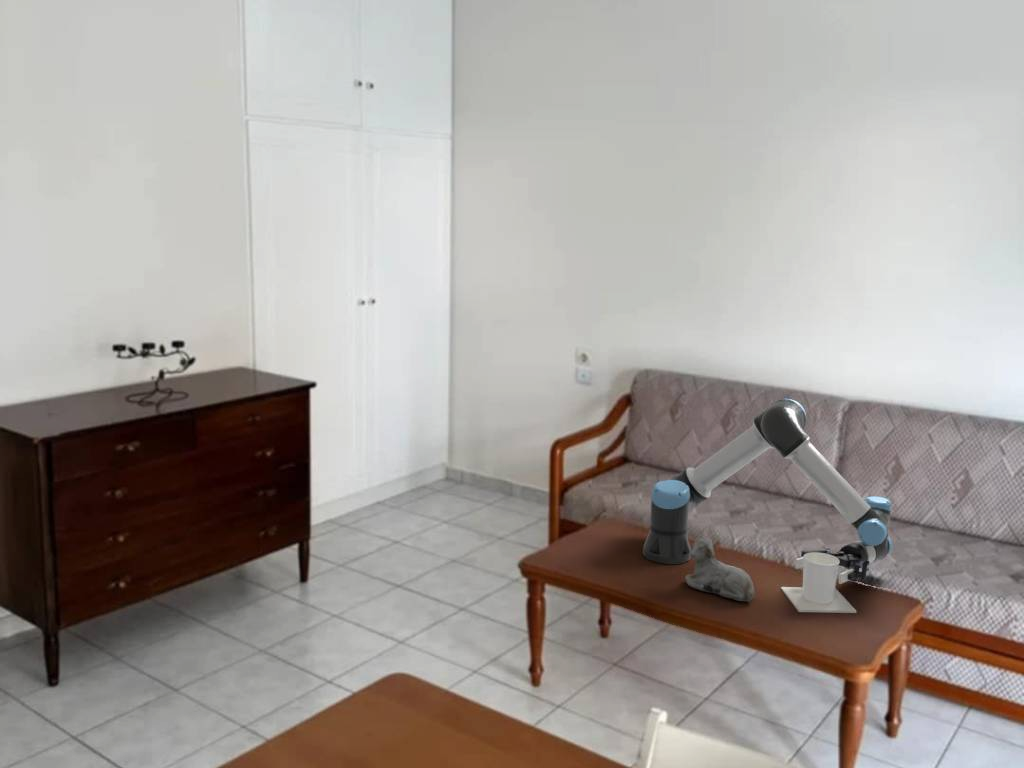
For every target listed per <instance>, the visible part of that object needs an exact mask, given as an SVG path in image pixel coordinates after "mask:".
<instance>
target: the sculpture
mask: <svg viewBox="0 0 1024 768" xmlns="http://www.w3.org/2000/svg"><path fill="white" fill-rule="evenodd" d="M691 548H692V549H691V553H690V556H691V559H693V560H695V566H694V570H693V574H691V573H690V574H687V575H686V576H685V577H684V578H685V579H684V580H685V581H686V584H687V585H688V586H689V587H691V588H692V589H696V590H699V591H702V592H706V593H710V594H711V593H712V594H716V595H719V596H721V597H724V598H726V599H727V598H728V599H732V600H735V601H738V602H752V601H753V599H754V598H755V586H754V583H753V581H752V578H751V577H750V575H749V574H748V573H747V572H746V571H745V569H743V568H741V567H740V568H739V567H737V566H733V565H729V564H725V562H724V563H723V562H722V561H719V560H718V559H716V556H715V551H714V544H713V541H712V539H711V538H709V537H705V536H704V537H698V538H696V539H695V541H694V542H693V544H692V546H691Z"/></svg>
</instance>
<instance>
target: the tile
mask: <svg viewBox="0 0 1024 768" xmlns="http://www.w3.org/2000/svg"><path fill="white" fill-rule="evenodd" d="M780 588H781V589H780V590H782V593H784V595H785V596H786V597H787V598H788V600H789V601H790V602H791V604H792V605H793V606H794V608H795V609H796V610H797V612H799V613H828V614H829V613H831V614H832V613H837V614H838V613H839V614H857V610H856V608H854V607H853V605H852V604H851V603H850V602H849V601H848V600H847V599H846V598H845V596H844V595H842V593H841V592H839V590H838V589H837V588H836V587H835V592H834V598H833V601H832V602H831V603H829V604H816V603H812V602H809V601H807V600H805V599H804V598H803V586H800V587H796V586H792V587H791V586H789V587H788V586H781V587H780Z"/></svg>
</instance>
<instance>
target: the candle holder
mask: <svg viewBox="0 0 1024 768" xmlns="http://www.w3.org/2000/svg"><path fill="white" fill-rule="evenodd" d="M839 563H840V561H839V559H838V558H837V557H835V556H833V555H830V554H826V553H819V552H811V553H806V554H804V556H803V567H802V587H803V598H804V599H805V600H807V601H809V602H812V603H816V604H829V603H831V602H832V601H833V598H834V592H835V588H836V586H837V579H838V575H839V574H838V572H839Z"/></svg>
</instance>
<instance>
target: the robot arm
mask: <svg viewBox="0 0 1024 768" xmlns="http://www.w3.org/2000/svg"><path fill="white" fill-rule="evenodd" d="M806 423H807V413H806V411H805V409H804V407H803V405H802V404H801V403H799V402H798V401H796V400H794V399H790V398H782V399H777V400H776V401H774V402H772V404H771V405H770V406H769V407H768V408H767V409H765V410H763V412H761V413H760V414H758V415H757V416H756V417H755V418H753V420H752V425H751V426H750V427H749V428H748V429H746V430H744V432H743V433H741V434H739V435H738V436H737V437H735V438H734V439H732V440H731V441H730V442H729V443H727V444H726V445H725V446H723V447H722V448H721V449H719V450H718V451H717V452H715V453H714V454H712V455H711V456H710V457H709V458H707V459H706V460H704V461H703V462H701V463H700V464H699V465H697V466H696V467H690V466H689V467H687V468H686V469H684V470H683V471H681V472H680V473H679V474H677V475H675V476H673V477H672V478H670V479H665V480H660V481H658V482H656V483H655V484H654V485H653V487H652V491H651V497H650V498H651V506H650V523H649V532H648V535H647V537H646V539H645V542H644V544H643V547H642V555H644V556H645V557H646V558H645V557H644V556H643V557H644V558H645V559H647V560H649V561H652V562H655V563H658V564H663V565H664V564H665V565H680V564H681V565H682V564H685V563H687V561H688V562H689V561H690V560H691V559H692V557H691V556H690V553H691V551H692V549H691V548H692V547H691V544H690V541H689V538H688V521H689V514H690V513H691V512H692V511H693V509H695V508H696V507H698V506H700V505H701V504H702V503H704V502H705V501H706V500H708V499H709V498H711V496H712V490H713V489H715V488H716V487H718V486H719V485H720V484H722V483H723V482H725V481H726V480H727V479H729V478H730V477H731V476H733V475H734V474H736V473H737V472H738V471H740V470H741V469H742V468H744V467H745V466H747V465H748V464H750V463H751V462H752V461H754V460H755V459H756V458H758V457H759V456H761V455H762V454H763V453H765V452H767V450H769V449H774V450H776V451H777V452H778V453H779V455H781V457H783V458H784V459H785V460H787V459H788V460H790V461H791V462H792V463H793V464H794V465H795V466H796V468H798V469H799V470H800V471H801V473H802V474H803V475H805V477H806V478H807V479H808V480H809V481H810V482H811V483H812V485H814V487H815V488H817V489H818V491H819V492H820V493H821V494H822V495H823V496H824V497H825V498H826V500H828V501H829V502H830V504H832V506H834V508H835V509H836V510H837V511H838V512H839V513H840V514H841V515H842V516H843V517H844V519H846V520H847V522H848V523H849V524H850V525H851V526H852V527H853V528H854V529H855V531H856V532H857V534H858V538H859V539H858V540H856V541H853V542H850V543H847V544H846V545H843V546H842V547H841V548H840V550H839V551H831V548H824V549H811V550H810V549H809V550H801V552H800V553H801V555H800V557H798V558H796V559H795V564H794V565H795V566H794V569H797V570H799V569H801V568H803V556H804V554H806V553H811V552H819V553H826V554H830V555H833V556H835V557H837V558H838V559H839V561H840V563H839V566H840V567H844V568H845V569H847V570H845V571H842V572H841V573H839V574H838V584H839V585H842V584H844V583H847V582H848V581H853V580H859V579H860V580H861V581H866V577H867V572H868V571H869V570H870V564H872V563H875V562H879V561H881V560H883V559H885V558H886V557H888V556H889V555H890V554H891V553H892V551H893V542H892V540H891V538H890V537H889V528H890V520H891V514H892V513H891V512H892V510H891V508H892V502H891V501H890V499H888V498H886V497H881V496H875V495H874V496H867V497H866V498H865V499H864V498H863V497H862V496H861V495H860V494H859V493H858V492H857V491H856V490H855V488H853V486H852V485H850V483H849V482H848V481H847V480H846V479H845V477H843V476H842V474H840V472H838V471H837V469H835V467H834V466H833V465H832V464H831V463H830V462H829V461H828V459H826V457H824V456H823V455H822V453H820V452H819V450H818V449H817V448H816V447H815V446H814V445H813V444H812V443H811V441H810V438H811V437H810V436H809V434H807V433H806V431H805V430H804V429H805V427H806ZM860 569H861V571H860Z"/></svg>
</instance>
